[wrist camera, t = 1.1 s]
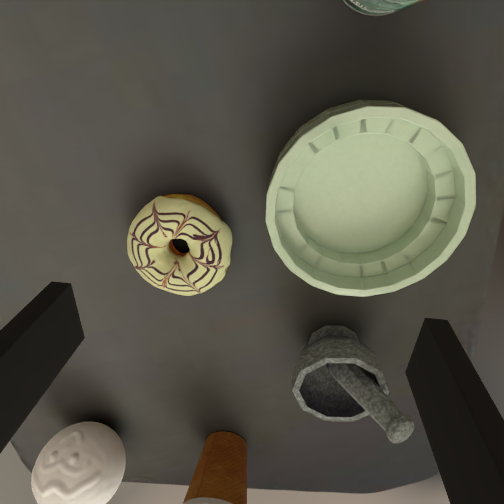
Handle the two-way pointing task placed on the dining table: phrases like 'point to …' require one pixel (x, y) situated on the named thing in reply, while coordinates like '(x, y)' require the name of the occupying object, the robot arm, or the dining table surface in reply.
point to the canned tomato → (379, 6)
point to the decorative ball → (79, 466)
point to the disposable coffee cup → (220, 471)
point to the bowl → (369, 198)
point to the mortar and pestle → (346, 382)
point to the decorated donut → (170, 259)
